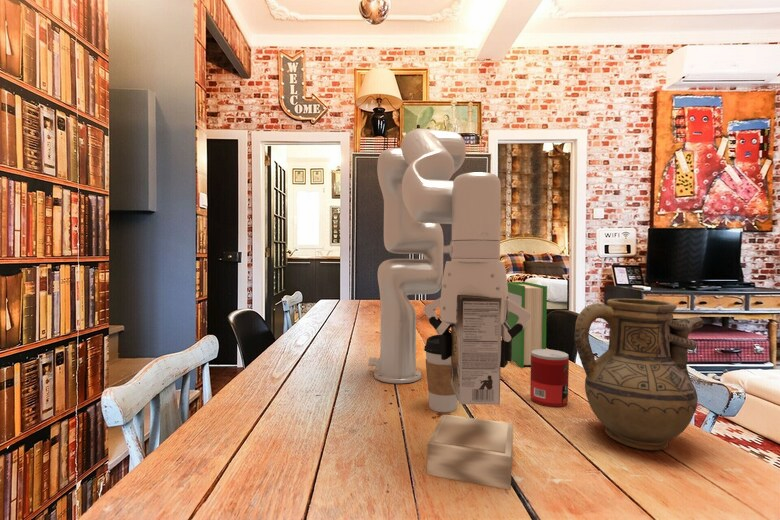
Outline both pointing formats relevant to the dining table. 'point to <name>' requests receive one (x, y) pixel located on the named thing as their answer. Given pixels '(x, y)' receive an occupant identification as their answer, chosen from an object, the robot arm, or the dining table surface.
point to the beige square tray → (471, 451)
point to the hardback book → (535, 329)
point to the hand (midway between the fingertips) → (474, 361)
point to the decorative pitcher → (639, 371)
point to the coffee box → (476, 350)
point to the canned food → (549, 377)
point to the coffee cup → (439, 378)
